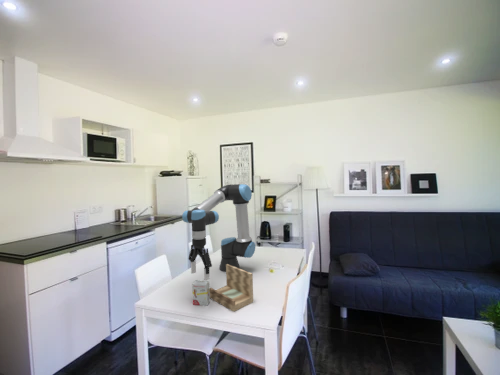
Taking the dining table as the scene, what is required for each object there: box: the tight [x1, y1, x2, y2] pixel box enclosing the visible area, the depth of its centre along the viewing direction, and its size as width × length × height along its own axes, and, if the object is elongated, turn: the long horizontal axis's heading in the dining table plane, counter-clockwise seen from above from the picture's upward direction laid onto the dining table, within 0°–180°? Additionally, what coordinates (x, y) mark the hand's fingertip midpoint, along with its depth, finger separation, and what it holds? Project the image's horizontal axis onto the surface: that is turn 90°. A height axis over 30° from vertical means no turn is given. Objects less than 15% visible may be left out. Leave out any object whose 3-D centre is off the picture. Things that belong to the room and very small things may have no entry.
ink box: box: [191, 279, 211, 306], centre depth 138 cm, size 9×5×12 cm, turn 79°
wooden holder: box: [209, 264, 254, 312], centre depth 141 cm, size 22×14×16 cm, turn 43°
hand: (200, 276), depth 137 cm, fingers open, 13 cm apart
